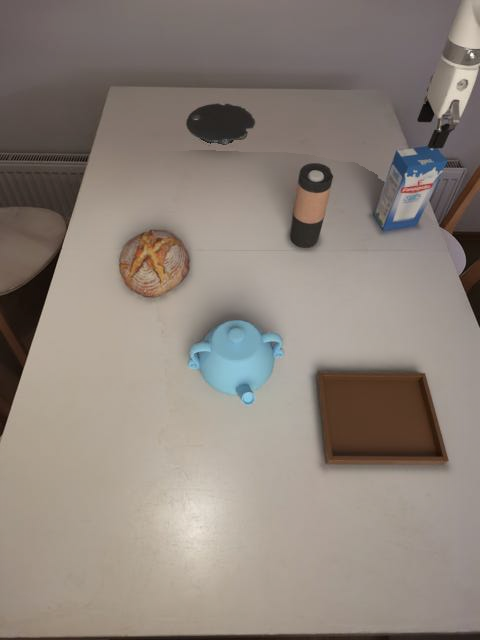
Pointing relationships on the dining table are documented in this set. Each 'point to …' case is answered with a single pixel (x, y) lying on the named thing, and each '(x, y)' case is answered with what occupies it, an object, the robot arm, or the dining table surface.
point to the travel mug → (310, 204)
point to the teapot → (236, 358)
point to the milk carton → (408, 187)
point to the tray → (379, 419)
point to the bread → (153, 263)
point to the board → (220, 123)
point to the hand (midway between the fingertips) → (429, 134)
